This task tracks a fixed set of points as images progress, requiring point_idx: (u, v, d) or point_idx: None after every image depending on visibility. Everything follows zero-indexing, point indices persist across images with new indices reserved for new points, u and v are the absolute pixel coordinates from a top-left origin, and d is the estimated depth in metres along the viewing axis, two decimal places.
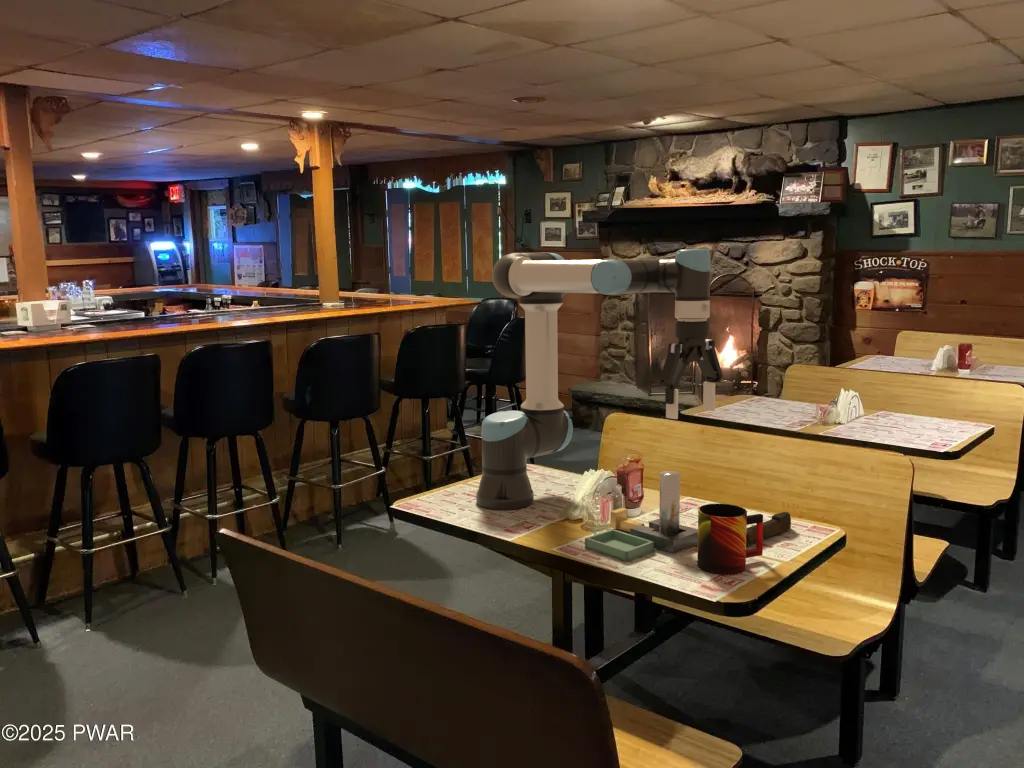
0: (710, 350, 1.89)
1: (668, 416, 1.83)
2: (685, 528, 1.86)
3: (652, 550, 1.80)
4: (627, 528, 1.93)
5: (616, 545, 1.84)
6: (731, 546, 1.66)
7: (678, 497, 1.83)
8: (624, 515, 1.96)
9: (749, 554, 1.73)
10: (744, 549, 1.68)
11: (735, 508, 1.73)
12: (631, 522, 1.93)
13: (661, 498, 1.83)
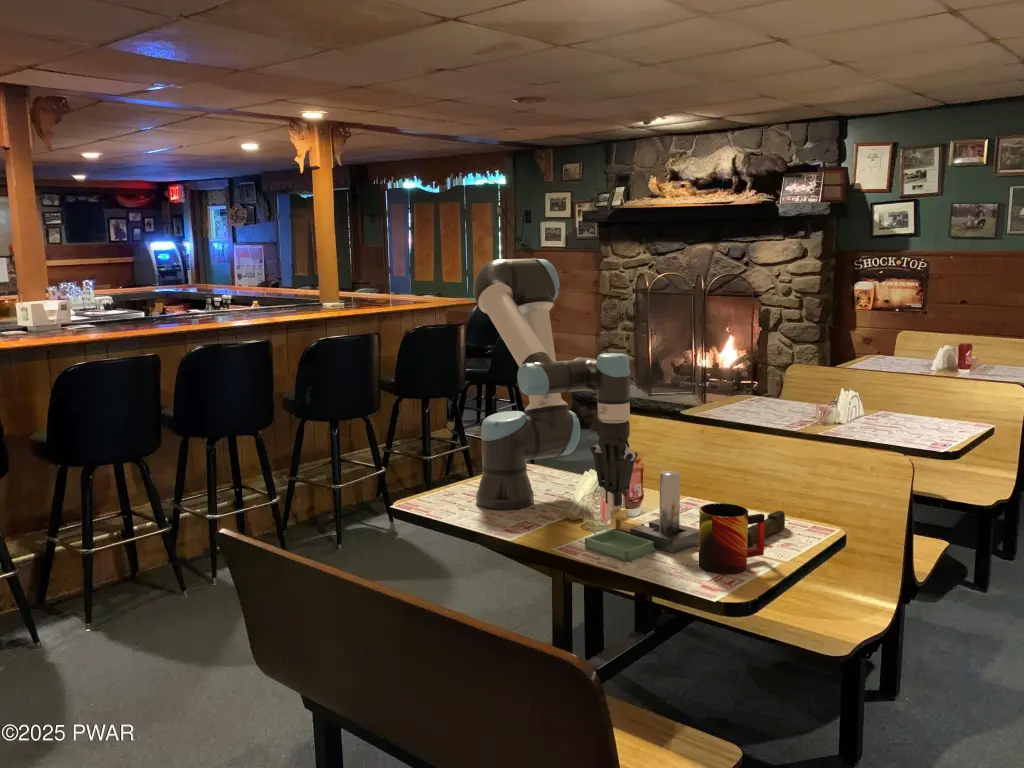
0: None
1: None
2: (685, 528, 1.86)
3: (652, 550, 1.80)
4: (627, 528, 1.93)
5: (616, 545, 1.84)
6: (732, 546, 1.66)
7: (678, 497, 1.83)
8: (624, 515, 1.96)
9: (750, 554, 1.73)
10: (745, 549, 1.68)
11: (737, 508, 1.73)
12: (631, 522, 1.93)
13: (661, 498, 1.83)
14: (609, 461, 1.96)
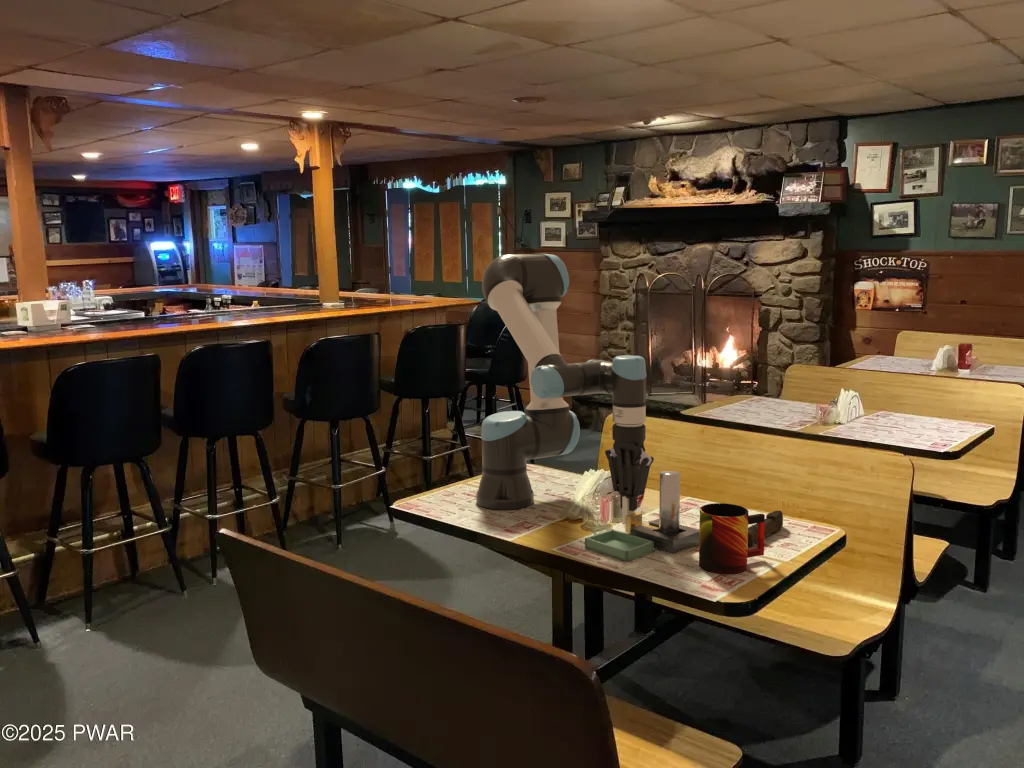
0: None
1: None
2: (685, 528, 1.86)
3: (652, 550, 1.80)
4: None
5: (616, 545, 1.84)
6: (733, 546, 1.66)
7: (678, 497, 1.83)
8: (639, 519, 1.93)
9: (750, 554, 1.73)
10: (746, 549, 1.68)
11: (737, 507, 1.73)
12: None
13: (661, 498, 1.83)
14: (624, 465, 1.92)
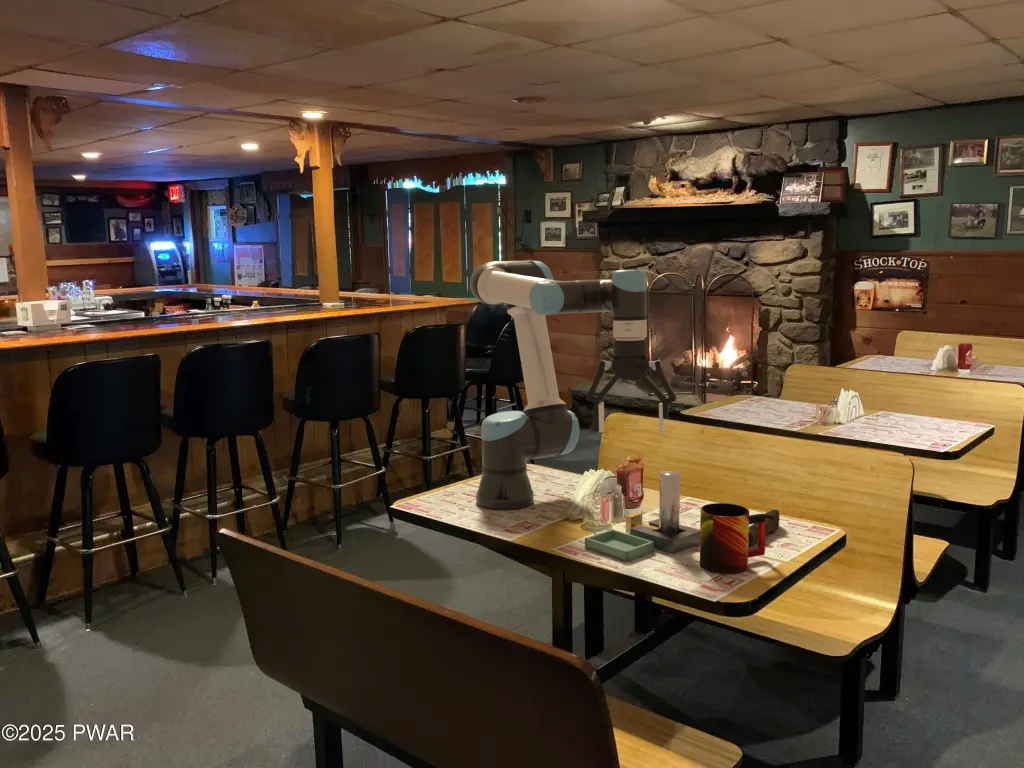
0: (656, 371, 1.86)
1: None
2: (685, 528, 1.86)
3: (652, 550, 1.80)
4: None
5: (616, 545, 1.84)
6: (733, 545, 1.66)
7: (678, 497, 1.83)
8: (639, 519, 1.93)
9: (751, 554, 1.73)
10: (746, 549, 1.68)
11: (737, 507, 1.73)
12: None
13: (661, 498, 1.83)
14: (616, 380, 1.89)
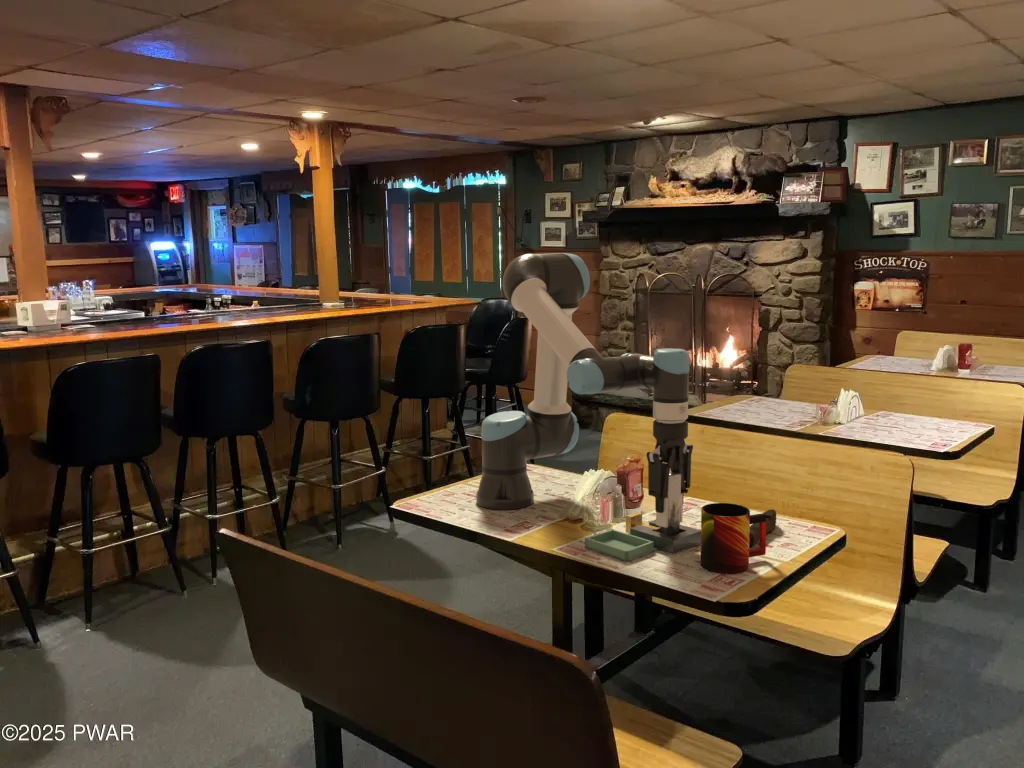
0: (686, 454, 1.85)
1: (658, 524, 1.84)
2: (685, 528, 1.86)
3: (652, 550, 1.80)
4: None
5: (616, 545, 1.84)
6: (734, 545, 1.66)
7: (679, 497, 1.83)
8: (639, 519, 1.93)
9: (752, 554, 1.73)
10: (747, 548, 1.68)
11: (738, 507, 1.73)
12: None
13: None
14: None
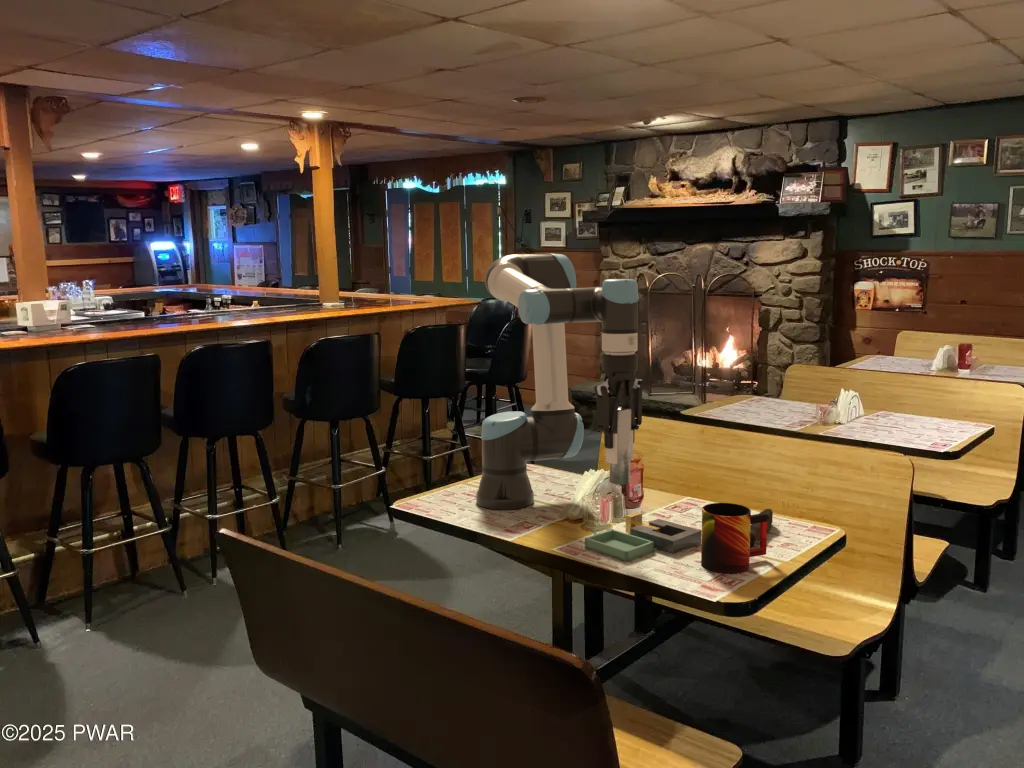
0: (637, 389, 1.80)
1: (608, 460, 1.78)
2: (685, 528, 1.86)
3: (652, 550, 1.80)
4: None
5: (616, 545, 1.84)
6: (735, 545, 1.66)
7: (629, 433, 1.77)
8: (639, 519, 1.93)
9: (752, 554, 1.73)
10: (748, 548, 1.68)
11: (739, 507, 1.73)
12: None
13: None
14: None
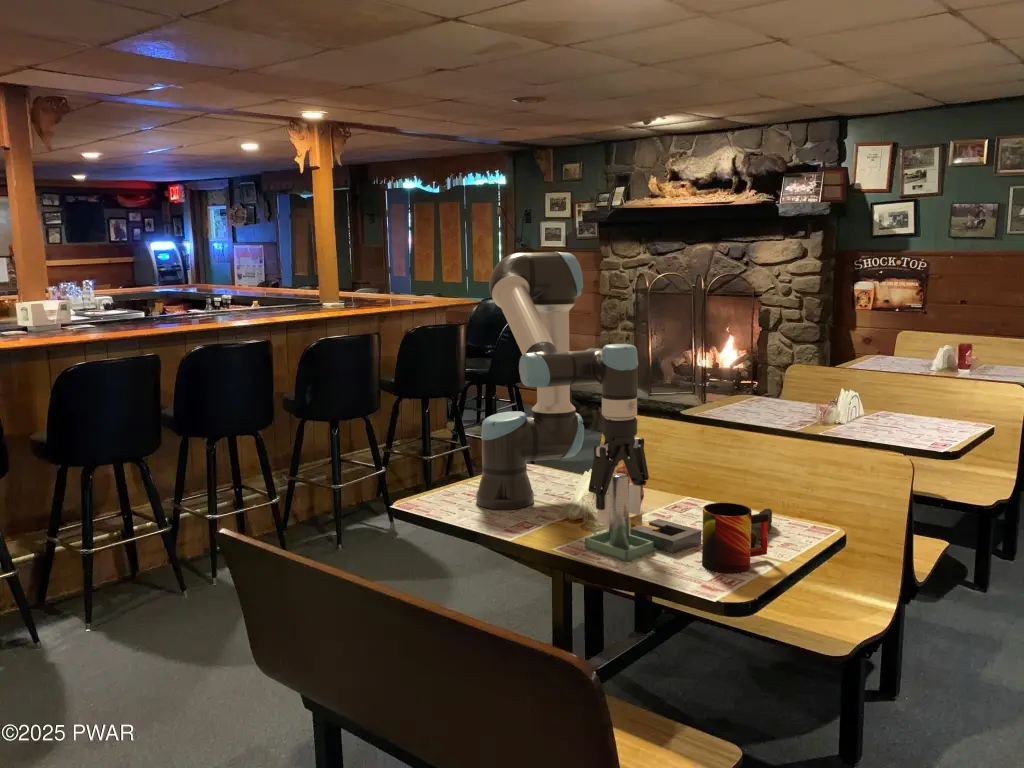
0: (638, 449, 1.82)
1: (599, 521, 1.78)
2: (685, 528, 1.86)
3: (652, 550, 1.80)
4: None
5: None
6: (736, 545, 1.66)
7: (627, 499, 1.79)
8: (639, 519, 1.93)
9: (753, 553, 1.73)
10: (749, 548, 1.69)
11: (740, 507, 1.73)
12: None
13: (610, 501, 1.80)
14: None
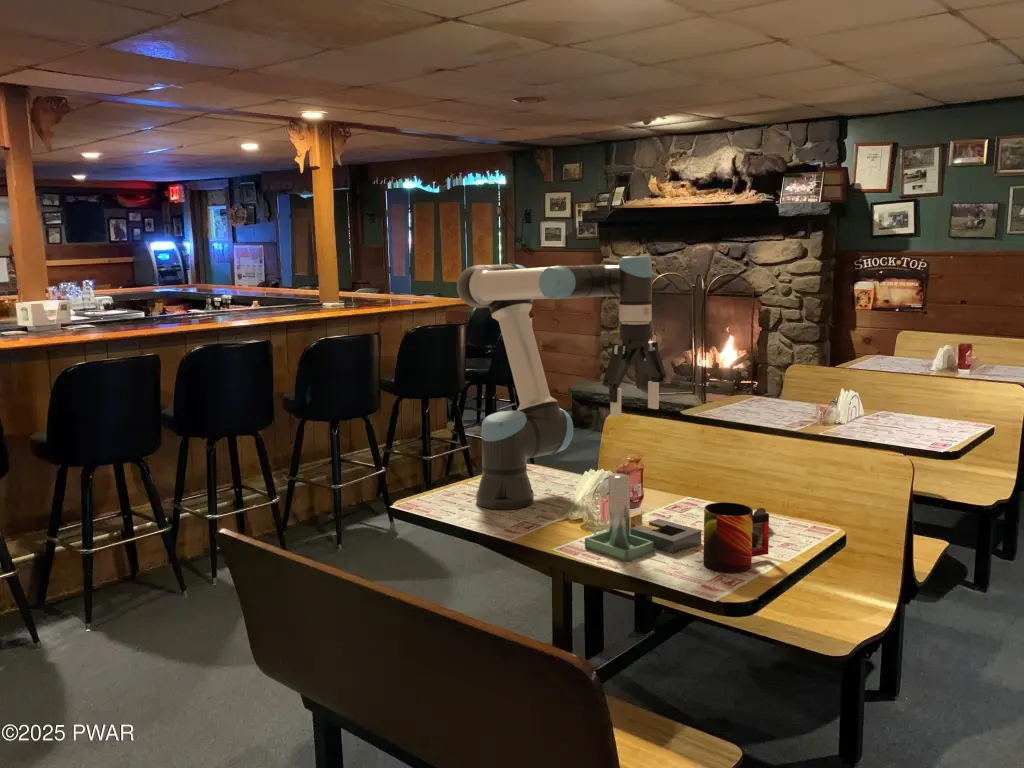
0: (653, 351, 1.99)
1: (612, 414, 1.94)
2: (685, 528, 1.86)
3: (652, 550, 1.80)
4: None
5: None
6: (737, 545, 1.67)
7: (628, 500, 1.79)
8: (639, 519, 1.93)
9: (755, 553, 1.74)
10: (750, 548, 1.69)
11: (741, 507, 1.73)
12: None
13: (610, 501, 1.80)
14: None
